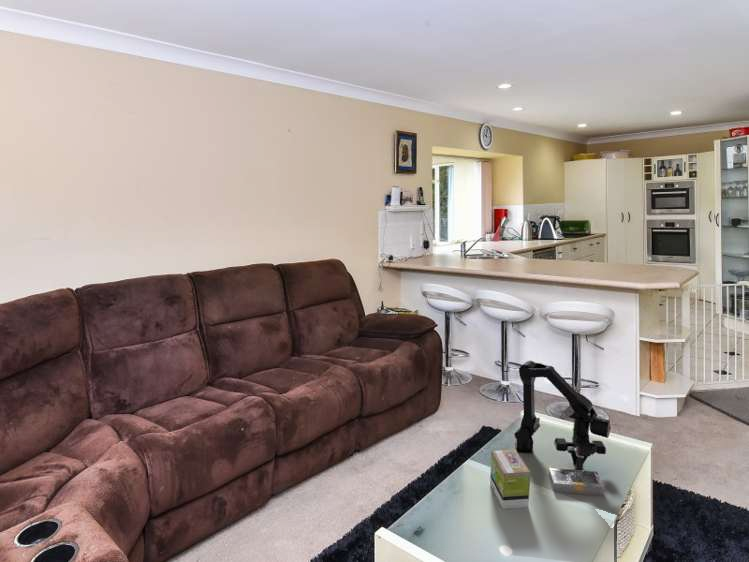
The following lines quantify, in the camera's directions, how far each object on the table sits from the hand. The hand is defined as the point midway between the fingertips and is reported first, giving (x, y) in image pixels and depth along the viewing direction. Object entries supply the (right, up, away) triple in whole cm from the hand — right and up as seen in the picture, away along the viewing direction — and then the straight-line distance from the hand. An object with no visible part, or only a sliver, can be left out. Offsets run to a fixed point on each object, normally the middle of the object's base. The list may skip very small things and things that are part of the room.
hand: (577, 464), depth 205 cm
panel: (0, -1, 0) cm, 1 cm away
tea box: (-33, -5, -18) cm, 38 cm away
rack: (-6, -4, -12) cm, 14 cm away
